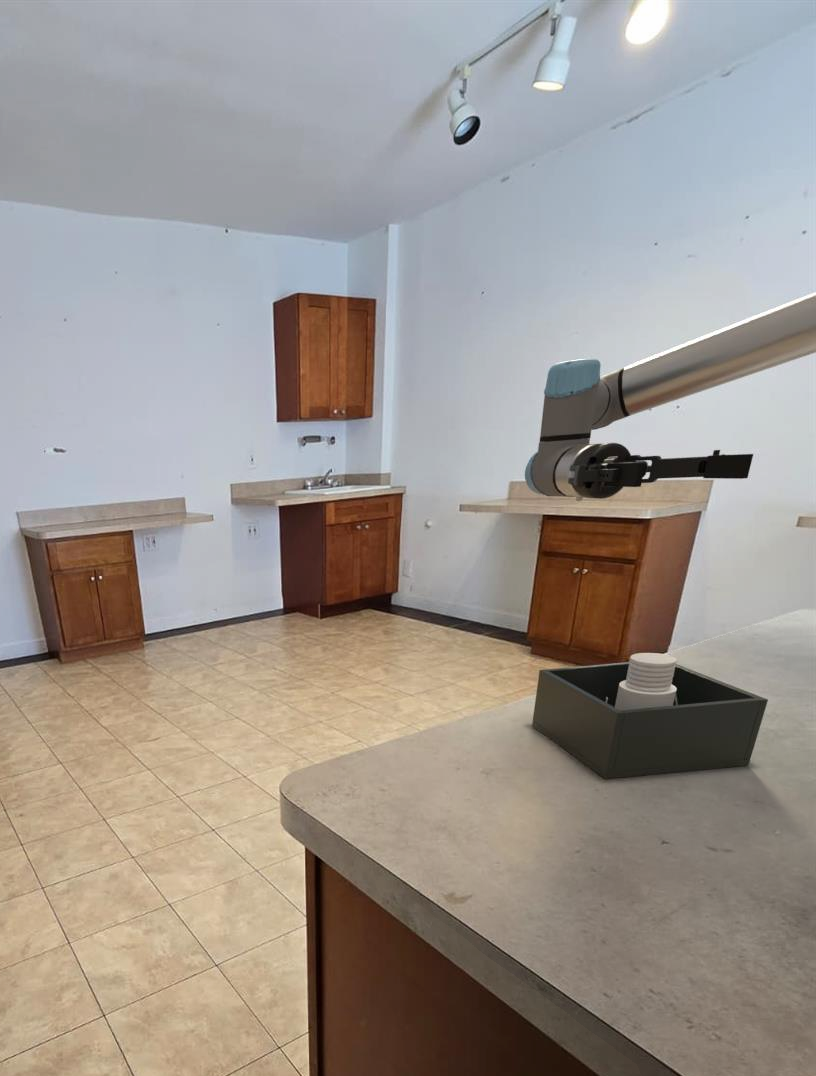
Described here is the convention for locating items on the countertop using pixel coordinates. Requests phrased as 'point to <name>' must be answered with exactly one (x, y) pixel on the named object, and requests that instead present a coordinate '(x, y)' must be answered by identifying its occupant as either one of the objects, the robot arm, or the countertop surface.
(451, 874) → the countertop surface
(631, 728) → the dark grey open box
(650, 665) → the downlight
